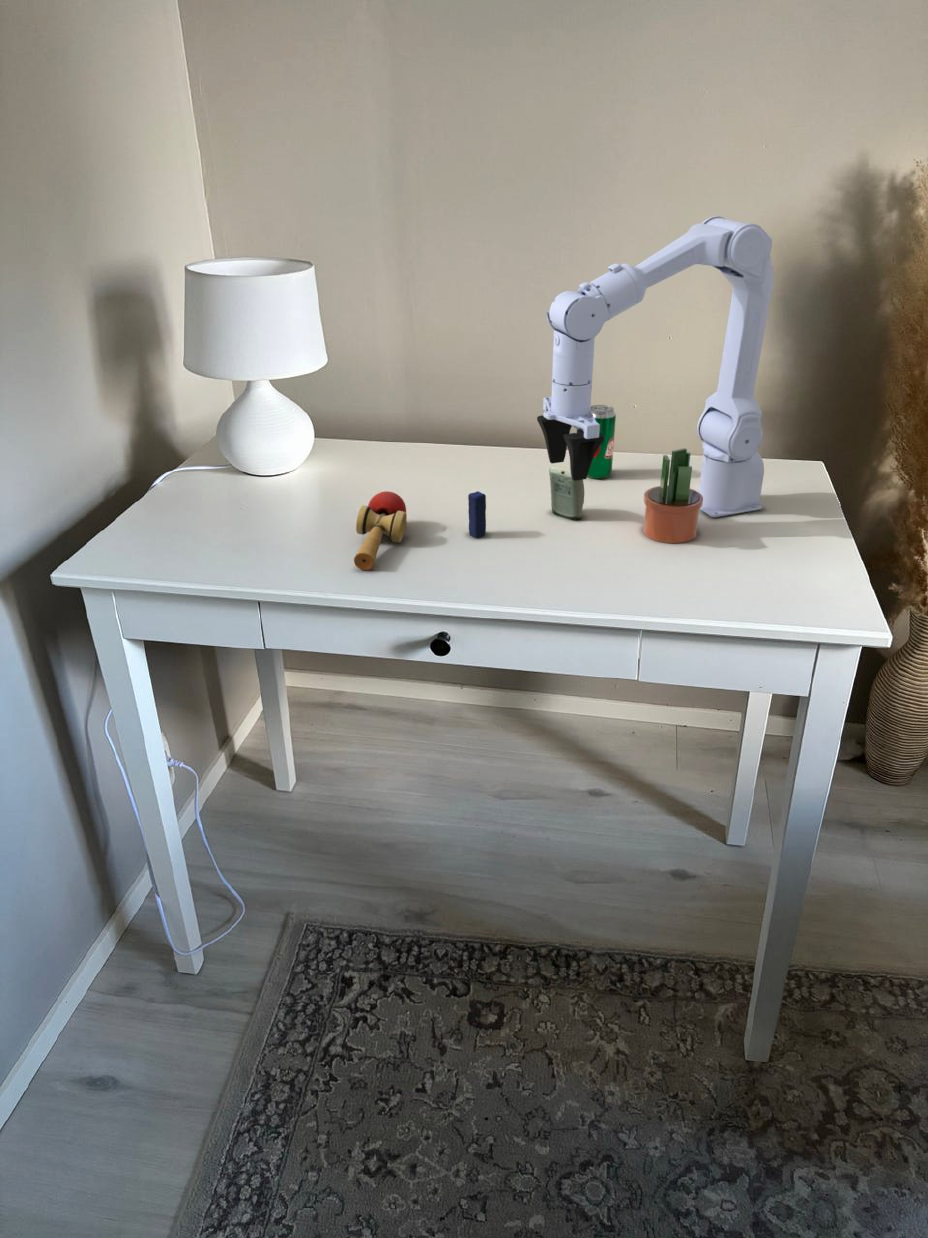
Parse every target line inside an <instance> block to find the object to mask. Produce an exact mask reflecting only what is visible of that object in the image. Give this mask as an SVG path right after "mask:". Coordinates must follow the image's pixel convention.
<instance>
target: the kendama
mask: <svg viewBox="0 0 928 1238" xmlns="http://www.w3.org/2000/svg"><path fill="white" fill-rule="evenodd" d="M355 523H356V524H355V530H356V531H355V532H356V533H357V534H358V535H363V536H364V535H366V534H367V535H366V537H365V538H364V540H363V541H362V544H361V546H359V547H360V548H359V549H358V551H357V552H356V554H355V555H354V558H353V563H354V565H355V567H357V569H359V570H361V571H369V570H371V569H373V567H374V566H375V562H376V558H377V555H378V551H379V548H380V545H381V541H382V536H383V534H384V535H386V536H387V537H389V539H390V540H391V541H392V543H398V544H400V543H401V542H402V540H403V538H404V535H405V531H406V526H407V505H406V503H405V501H404V499H403V497H401V496H400V495H399V494H397V493H396V492H393V491H388V490H387V491H385V490H384V491H381V492H378V493H376V494H374V496H373V497H372V498H371V499H370V501H369V502H368V505H362V506H360V508H359V511H358V513H357V518H356V522H355Z"/></svg>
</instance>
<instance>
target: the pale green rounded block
mask: <svg viewBox="0 0 928 1238" xmlns="http://www.w3.org/2000/svg"><path fill="white" fill-rule="evenodd" d="M548 472H549V473H548V474H549V482H550V483H549V484H550V485H549V486H550V499H551V500H550V501H551V502H550V505H551V512H552V514H553V515H555V516H557V517H562V518H565V519H569V520H572V521H579V520H581V519H583V514H582V513H583V507H584V503H585V482H584V480H577V481H574V480H572V477H571V470H570V467H566V466H561V465H552V466H550V467H549V469H548Z"/></svg>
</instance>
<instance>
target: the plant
mask: <svg viewBox="0 0 928 1238" xmlns="http://www.w3.org/2000/svg"><path fill="white" fill-rule="evenodd" d="M662 456H663V457H662V464H661V475H660V485H659V486H653V487H650V488H649V489H646V490H645V492H644V493H643V503H644V505H645V508H644V519H643V520H644V521H643V530H642V531H643V533H644V535H645V536H646V537H648V538H649V539H651V540H653V541H656V542H660V543H666V544H682V543H688V542H691V541H692V540H694V539H695V538H696V536H697V532H698V524H699V523H698V522H699V514H700V508H701V507H702V505H703V496H702V495H701V494H700V493H699V491H698V490H695V489H693V488H691V482H692V474H693V473H692V472H693V466H692V465H690V461H691V452H689V451H688V449H687V448H685V447H684V448H678V449H674V450H672V451H671V457H670V458H669V456H668V455H667V454H663V455H662Z"/></svg>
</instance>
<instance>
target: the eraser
mask: <svg viewBox="0 0 928 1238" xmlns="http://www.w3.org/2000/svg"><path fill="white" fill-rule="evenodd" d="M467 500H468V503H467V504H468V505H467V506H468V534H469V536H471V537H472V538H474V539H479V538H483V537H484V536H486V534H487V533H486V531H487V519H486V518H487V513H486V511H487V495H486V494H485V493H483V492H481V491H474V492H470V493H469V494H468V495H467Z"/></svg>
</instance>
